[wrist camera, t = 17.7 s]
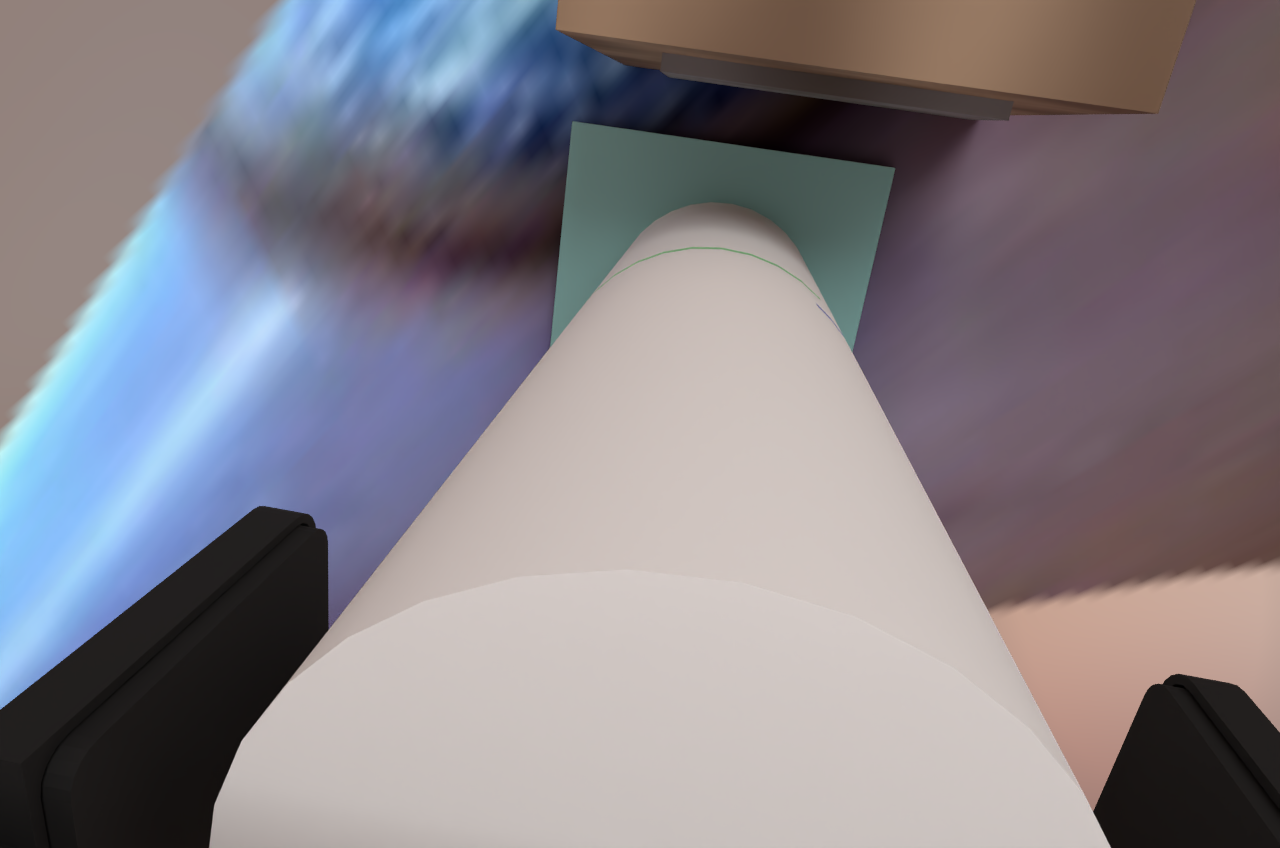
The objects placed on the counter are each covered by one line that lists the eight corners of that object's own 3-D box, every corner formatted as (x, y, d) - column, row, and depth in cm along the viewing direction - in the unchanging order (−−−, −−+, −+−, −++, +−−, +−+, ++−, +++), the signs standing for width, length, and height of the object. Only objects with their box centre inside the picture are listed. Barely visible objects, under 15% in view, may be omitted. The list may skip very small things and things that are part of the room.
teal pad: (892, 166, 28) (895, 168, 28) (823, 460, 32) (825, 466, 32) (575, 121, 29) (572, 121, 28) (546, 415, 33) (543, 420, 32)
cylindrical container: (684, 432, 32) (558, 1313, 8) (574, 277, 30) (29, 831, 7) (849, 330, 30) (1294, 1115, 6) (741, 159, 28) (799, 361, 5)
